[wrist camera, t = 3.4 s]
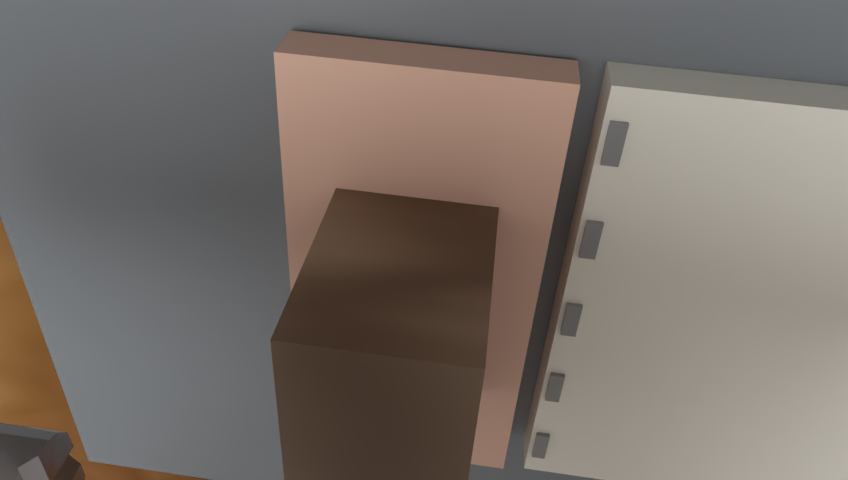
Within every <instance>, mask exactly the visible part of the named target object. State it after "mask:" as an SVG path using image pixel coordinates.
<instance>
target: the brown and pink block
mask: <svg viewBox="0 0 848 480" xmlns="http://www.w3.org/2000/svg"><path fill="white" fill-rule="evenodd" d="M274 66H275V80H276V94H277V108H278V122H279V136H280V150H281V164H282V177H283V191H284V205H285V219H286V233H287V247H288V261H289V275H290V288H291V293H290V296H289V298H288V300H287V302H286V305H285V307H284V309H283V312H282V314H281V316H280V319H279V321H278V323H277V326H276V328H275V330H274V333H273V335H272V337H271V340H270V343H271V353H272V363H273V373H274V383H275V393H276V403H277V413H278V423H279V433H280V443H281V453H282V463H283V473H284V480H468V478H469V471H470V465H471V464H474V465H481V466H488V467H495V468H501V469H503V468H504V463H505V458H506V453H507V448H508V443H509V438H510V433H511V428H512V423H513V418H514V413H515V408H516V403H517V398H518V393H519V388H520V383H521V378H522V373H523V368H524V363H525V358H526V353H527V348H528V343H529V338H530V333H531V328H532V323H533V318H534V313H535V308H536V303H537V298H538V294H539V289H540V284H541V279H542V274H543V269H544V264H545V259H546V254H547V249H548V244H549V239H550V234H551V229H552V224H553V219H554V214H555V209H556V204H557V199H558V194H559V189H560V184H561V179H562V174H563V169H564V164H565V159H566V154H567V149H568V144H569V139H570V134H571V129H572V124H573V119H574V114H575V109H576V104H577V99H578V94H579V90H580V76H579V67H578V60H569V59H560V58H550V57H540V56H531V55H521V54H512V53H502V52H493V51H483V50H473V49H464V48H454V47H445V46H435V45H425V44H416V43H406V42H397V41H387V40H378V39H368V38H358V37H349V36H339V35H330V34H320V33H311V32H301V31H291V30H290V32H289V33H288V34H287V35H286V37H285V38H284V39H283V41H282V42H281V43H280V44H279V46H278V47H277V48H276V49H275V51H274Z"/></svg>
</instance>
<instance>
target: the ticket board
mask: <svg viewBox="0 0 848 480" xmlns="http://www.w3.org/2000/svg"><path fill="white" fill-rule="evenodd" d="M290 30H291V31H301V32H311V33H320V34H330V35H339V36H349V37H358V38H368V39H378V40H387V41H397V42H406V43H416V44H425V45H435V46H445V47H454V48H464V49H473V50H483V51H493V52H502V53H512V54H521V55H531V56H540V57H550V58H560V59H569V60H578V67H579V76H580V90H579V94H578V99H577V104H576V109H575V114H574V119H573V124H572V129H571V134H570V139H569V144H568V149H567V154H566V159H565V164H564V169H563V174H562V179H561V184H560V189H559V194H558V199H557V204H556V209H555V214H554V219H553V224H552V229H551V234H550V239H549V244H548V249H547V254H546V259H545V264H544V269H543V274H542V279H541V284H540V289H539V294H538V298H537V303H536V308H535V313H534V318H533V323H532V328H531V333H530V338H529V343H528V348H527V353H526V358H525V363H524V368H523V373H522V378H521V383H520V388H519V393H518V398H517V403H516V408H515V413H514V418H513V423H512V428H511V433H510V438H509V443H508V448H507V453H506V458H505V463H504V468H503V469H501V468H495V467H488V466H481V465H474V464H471V465H470V471H469V478H468V480H848V0H0V217H1V219H2V222H3V225H4V228H5V231H6V233H7V236H8V239H9V242H10V244H11V247H12V250H13V253H14V255H15V258H16V261H17V264H18V266H19V269H20V272H21V275H22V278H23V280H24V283H25V286H26V289H27V291H28V294H29V297H30V300H31V302H32V305H33V308H34V311H35V313H36V316H37V319H38V322H39V325H40V327H41V330H42V333H43V336H44V338H45V341H46V344H47V347H48V349H49V352H50V355H51V358H52V361H53V363H54V366H55V369H56V372H57V374H58V377H59V380H60V383H61V385H62V388H63V391H64V394H65V396H66V399H67V402H68V405H69V408H70V410H71V413H72V416H73V419H74V421H75V424H76V427H77V430H78V432H79V435H80V438H81V441H82V443H83V446H84V449H85V452H86V455H87V457H88V460H89V461H92V462H99V463H105V464H112V465H118V466H125V467H132V468H138V469H145V470H151V471H158V472H165V473H171V474H178V475H184V476H191V477H198V478H204V479H211V480H284V473H283V463H282V453H281V443H280V433H279V423H278V413H277V403H276V393H275V383H274V373H273V363H272V353H271V343H270V340H271V337H272V335H273V333H274V330H275V328H276V326H277V323H278V321H279V319H280V316H281V314H282V312H283V309H284V307H285V305H286V302H287V300H288V298H289V296H290V293H291V288H290V275H289V261H288V247H287V233H286V219H285V205H284V191H283V177H282V164H281V150H280V136H279V122H278V108H277V94H276V80H275V66H274V51H275V49H276V48H277V47H278V46H279V44H280V43H281V42H282V41H283V39H284V38H285V37H286V35H287V34H288V33H289V32H290Z"/></svg>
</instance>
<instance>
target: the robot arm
mask: <svg viewBox="0 0 848 480" xmlns="http://www.w3.org/2000/svg"><path fill="white" fill-rule="evenodd" d="M72 448H73V444H72V442H71V440H70V438H69V435H68V433H67V432H61V431H54V430H46V429H39V428H32V427H25V426H18V425H10V424H4V423H0V480H85V474H84V471H83V469H82V466H81V464H80V463H79V462H77V461H76V460H75V459H74V458H72V457H71V456H70V455H69V453H70V451H71V449H72Z"/></svg>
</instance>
